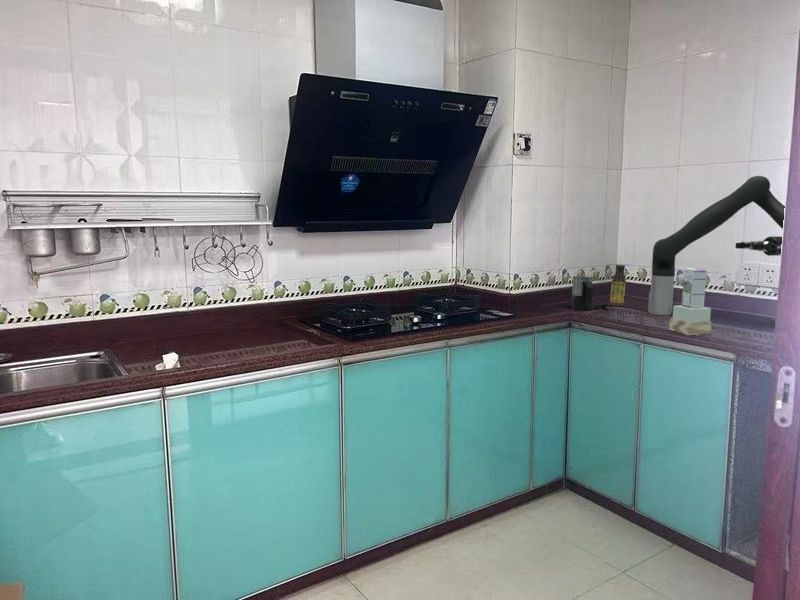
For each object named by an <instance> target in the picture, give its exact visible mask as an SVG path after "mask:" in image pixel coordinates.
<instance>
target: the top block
mask: <svg viewBox="0 0 800 600" xmlns="http://www.w3.org/2000/svg"><path fill="white" fill-rule="evenodd" d="M711 314H712V308H710V307H705V306H704V307H703V308H691V307H686V306H683V305H682V304H681V305H679V304H678V305H672V319H676V320H680V321H684V322H688V323H697V322H711Z"/></svg>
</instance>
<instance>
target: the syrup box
mask: <svg viewBox="0 0 800 600" xmlns="http://www.w3.org/2000/svg"><path fill="white" fill-rule="evenodd" d="M707 272H708V269H707V268H700V267H684V270H683V281H682V296H681V305H683V306H686V307H691V308H703V307H705V294H706V282H707Z"/></svg>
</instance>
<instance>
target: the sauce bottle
mask: <svg viewBox="0 0 800 600" xmlns="http://www.w3.org/2000/svg"><path fill="white" fill-rule="evenodd" d="M625 268H626V265H625V264H616V265H615V274H614V275H613V277H612V280H611V281H612V282H611V288H610V297H609V298H610V299H609V303H610V305H609V306H613V307H622V306H623V305H624V300H625V293H626V280H627V279H626V276H625Z"/></svg>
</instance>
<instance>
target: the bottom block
mask: <svg viewBox="0 0 800 600" xmlns="http://www.w3.org/2000/svg"><path fill="white" fill-rule="evenodd" d="M672 318H673V317H672ZM672 318H671V317H670V318H669V328H668V330H672V331H676V332H679V333H678V334H680V333H683V334H682V335H684V334H686V335H685V336H687V335H696V336H700V335H699V334H710V335H711V333H712V321H710V322H697V323H688V322H684V321H680V320H676V319H672ZM672 331H671V332H672ZM676 332H675V333H676Z"/></svg>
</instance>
